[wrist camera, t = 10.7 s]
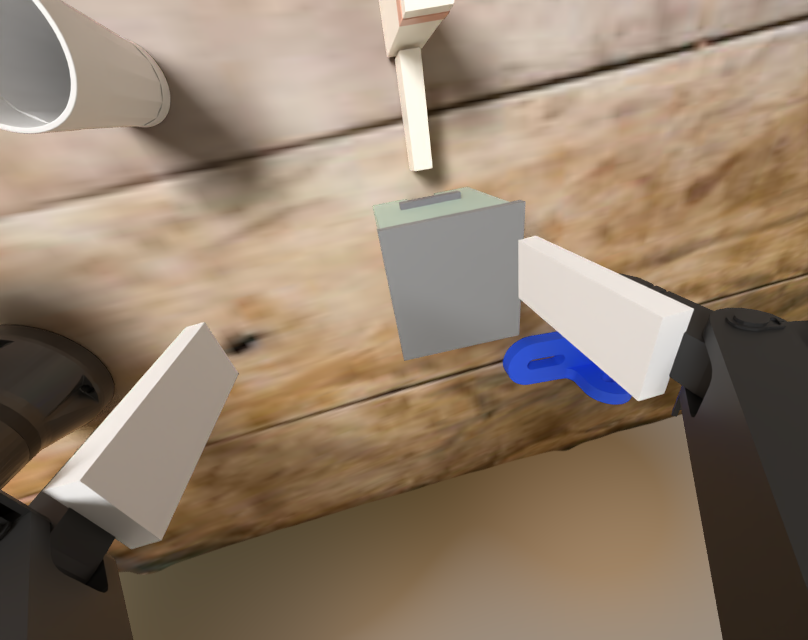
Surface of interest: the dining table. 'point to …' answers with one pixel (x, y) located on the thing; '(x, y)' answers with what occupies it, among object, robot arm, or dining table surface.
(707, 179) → the dining table surface
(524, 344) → the bracket
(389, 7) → the pink striped cream block
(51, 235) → the dining table surface
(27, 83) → the cup
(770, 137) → the dining table surface
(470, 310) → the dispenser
